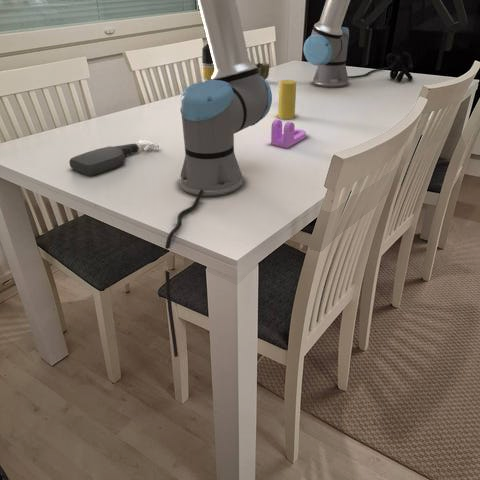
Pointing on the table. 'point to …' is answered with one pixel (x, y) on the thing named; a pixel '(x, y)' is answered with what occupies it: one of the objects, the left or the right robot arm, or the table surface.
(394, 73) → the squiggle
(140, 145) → the spray bottle
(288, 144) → the bracket
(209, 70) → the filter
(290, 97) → the canister
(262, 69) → the cup
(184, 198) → the table surface
